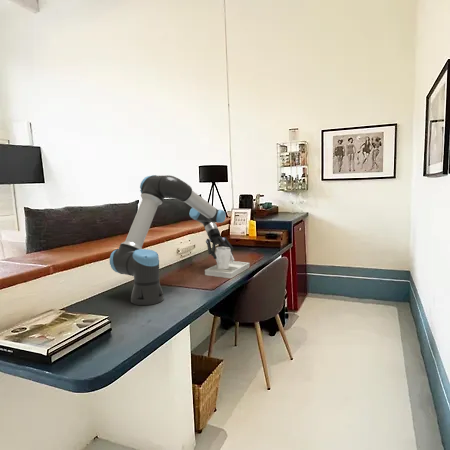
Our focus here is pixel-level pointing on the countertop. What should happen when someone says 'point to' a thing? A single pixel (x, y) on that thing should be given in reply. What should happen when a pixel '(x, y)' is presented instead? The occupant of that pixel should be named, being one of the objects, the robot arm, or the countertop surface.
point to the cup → (223, 257)
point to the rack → (228, 270)
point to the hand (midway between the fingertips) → (226, 261)
